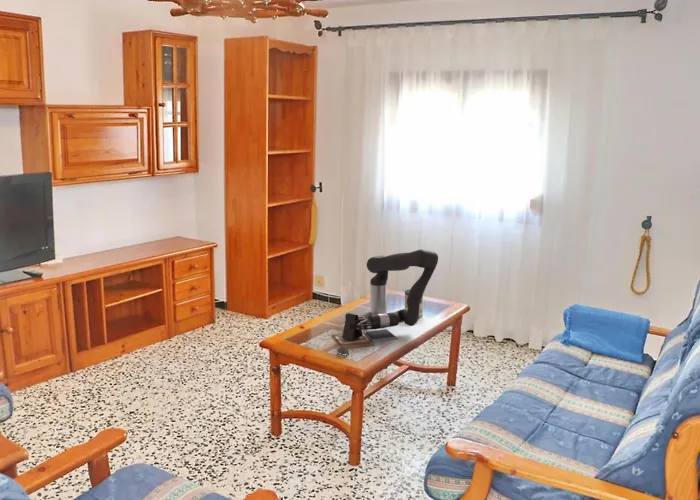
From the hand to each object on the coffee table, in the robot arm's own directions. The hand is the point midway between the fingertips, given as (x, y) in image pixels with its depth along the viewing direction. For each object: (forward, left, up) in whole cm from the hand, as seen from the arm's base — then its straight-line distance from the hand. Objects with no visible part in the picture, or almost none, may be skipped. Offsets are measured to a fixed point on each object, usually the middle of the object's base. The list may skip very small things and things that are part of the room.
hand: (347, 325), depth 302 cm
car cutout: (+20, -5, -9) cm, 22 cm away
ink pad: (0, +17, -8) cm, 19 cm away
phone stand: (0, +3, -7) cm, 7 cm away
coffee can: (-27, +48, -9) cm, 56 cm away
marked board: (0, +2, -8) cm, 9 cm away
